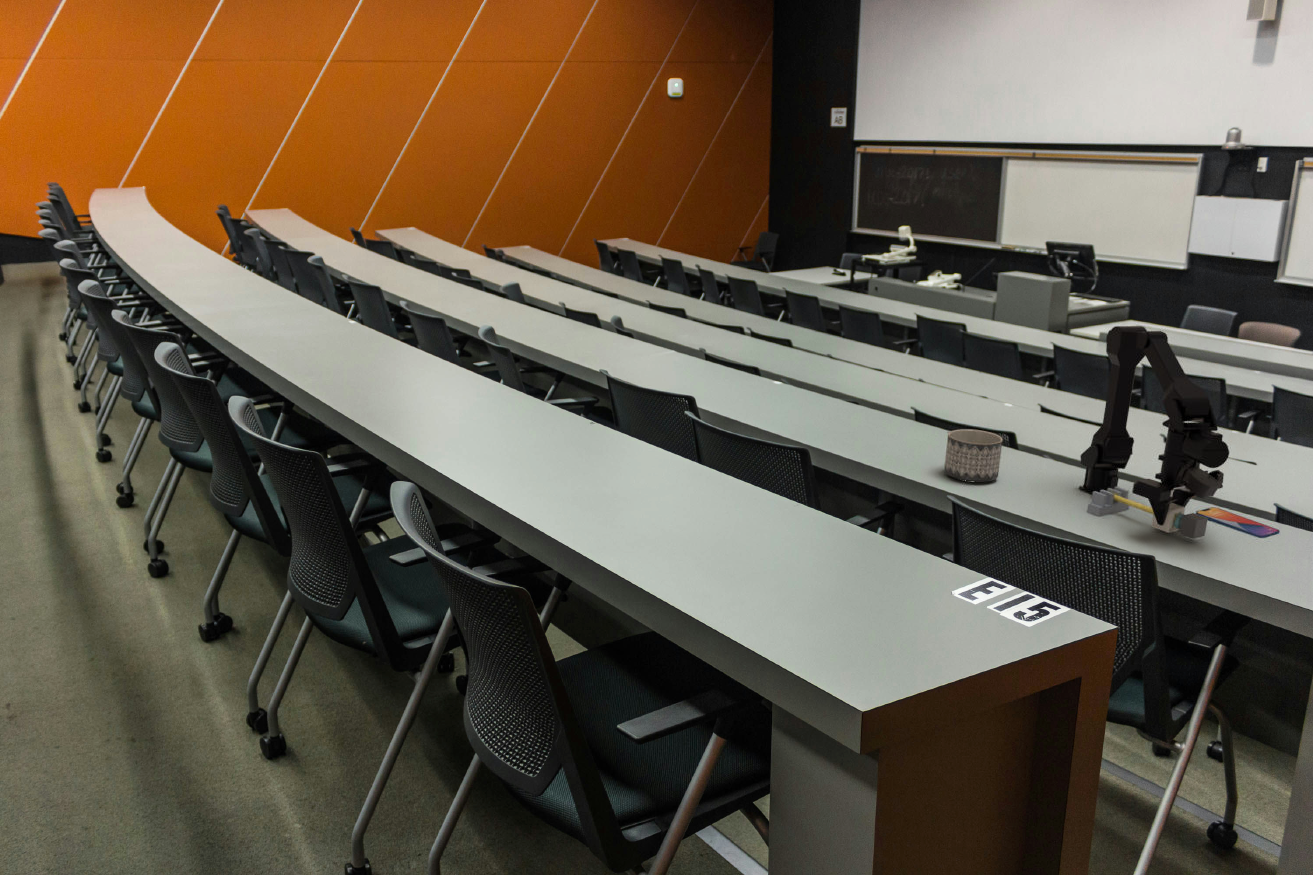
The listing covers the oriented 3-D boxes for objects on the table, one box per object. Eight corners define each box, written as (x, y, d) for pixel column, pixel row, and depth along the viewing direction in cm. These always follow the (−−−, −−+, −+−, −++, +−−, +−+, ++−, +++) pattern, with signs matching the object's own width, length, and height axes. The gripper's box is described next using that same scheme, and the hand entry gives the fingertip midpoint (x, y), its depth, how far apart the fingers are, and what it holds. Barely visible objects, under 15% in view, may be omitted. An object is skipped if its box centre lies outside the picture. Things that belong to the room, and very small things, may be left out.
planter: (979, 489, 226) (984, 447, 223) (933, 475, 235) (937, 435, 232) (1007, 478, 234) (1012, 437, 231) (961, 465, 243) (966, 426, 240)
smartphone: (1260, 541, 199) (1261, 536, 199) (1192, 516, 212) (1193, 511, 211) (1281, 535, 203) (1282, 530, 202) (1213, 510, 215) (1214, 506, 215)
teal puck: (1173, 529, 198) (1175, 514, 197) (1182, 526, 200) (1185, 512, 199) (1176, 530, 197) (1179, 516, 197) (1186, 528, 199) (1189, 513, 198)
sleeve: (1151, 526, 202) (1155, 504, 201) (1163, 523, 204) (1167, 501, 202) (1168, 532, 199) (1172, 510, 197) (1180, 529, 200) (1185, 507, 199)
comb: (1086, 511, 212) (1089, 492, 211) (1116, 504, 217) (1119, 485, 216) (1098, 516, 210) (1101, 496, 209) (1128, 509, 214) (1131, 489, 213)
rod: (1102, 496, 214) (1102, 491, 213) (1105, 495, 214) (1106, 490, 214) (1183, 526, 197) (1184, 520, 197) (1187, 525, 198) (1188, 520, 197)
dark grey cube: (1174, 531, 198) (1177, 514, 197) (1185, 529, 199) (1188, 511, 198) (1193, 539, 194) (1196, 520, 193) (1204, 536, 196) (1207, 517, 195)
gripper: (1187, 470, 185) (1173, 544, 190) (1245, 457, 194) (1231, 529, 198) (1136, 454, 195) (1124, 525, 199) (1194, 443, 203) (1181, 511, 208)
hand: (1167, 523), depth 201 cm, fingers closed on sleeve, 4 cm apart
